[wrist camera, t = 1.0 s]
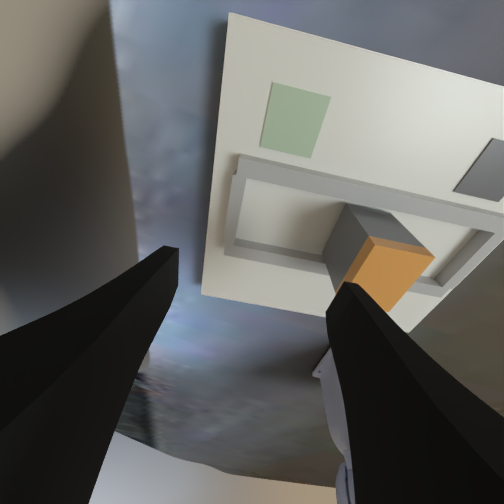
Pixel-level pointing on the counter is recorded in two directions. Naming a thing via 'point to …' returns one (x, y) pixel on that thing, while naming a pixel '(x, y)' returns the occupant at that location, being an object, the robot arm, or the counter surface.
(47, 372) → the robot arm
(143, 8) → the counter surface
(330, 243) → the knob
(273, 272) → the switch panel
